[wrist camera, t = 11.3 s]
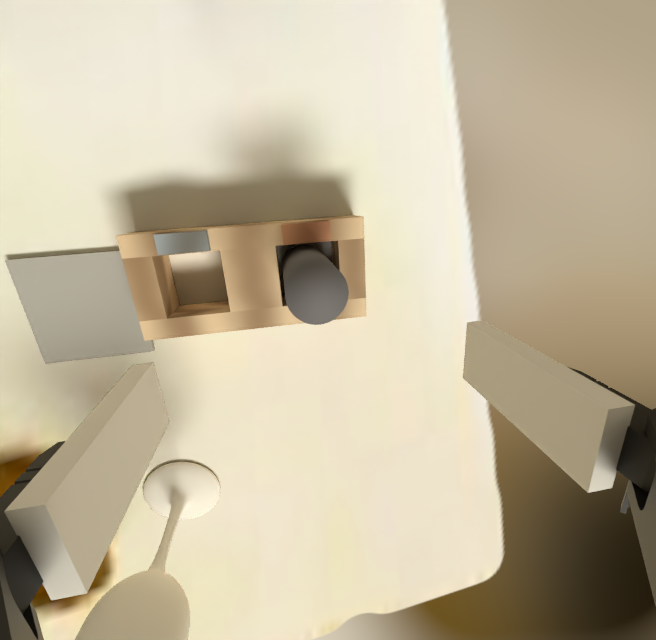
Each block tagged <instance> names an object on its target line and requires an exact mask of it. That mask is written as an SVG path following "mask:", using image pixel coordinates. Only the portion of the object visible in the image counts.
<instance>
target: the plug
mask: <svg viewBox="0 0 656 640" xmlns="http://www.w3.org/2000/svg"><path fill="white" fill-rule="evenodd" d="M282 269H283V279H284V289H285V299H286V303H287V306H288V308H289V310H290V311H291V313H292V314H293V315H294V316H295V317H296V318H297V319H299V320H300V321H302V322H305V323H308V324H314V325H318V324H324V323H328V322H330V321H332V320H334V319H335V318H336V317H338V316H339V315H340V314H341V312H342V311H343V310H344V308H345V306H346V304H347V301H348V296H349V290H348V285H347V282H346V279H345V278H344V276H343V275H342V273H341V272H340V271H339V270H338V269H337V268H336V267H335V266H334V265H333V264H332V262H331V261H330V260H329V259H328V258H327V257H326V256H325V255H324V254H323V253H322V252H321V251H320V250H319V249H318V248H317V247H315V246H313V245H310V244H299V245H296V246H294V247H292V248H291V249H290V250H289V251H288V252H287V253H286V255H285V256H284V259H283V264H282Z"/></svg>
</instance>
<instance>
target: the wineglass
mask: <svg viewBox="0 0 656 640" xmlns="http://www.w3.org/2000/svg"><path fill="white" fill-rule="evenodd" d="M143 495H144V499H145V501H146V503H147V504H148V506H149V507H150V508H151V509H152V510H153V511H155V512H156V513H158V514H159V515H161V516H164V517H167V518H168V522H167V525H166V528H165V532H164V535H163V538H162V541H161V544H160V546H159V549H158V552H157V554H156V556H155V559H154V561H153V563H152V565H151V566H150V568H149V569H148V571H143V572H140V573H137V574H134V575H132V576H130V577H128V578H126V579H124V580H123V581H121V582H119V583H118V584H117V585H115V586H114V587H113V588H111V589H110V590H109V591H108V592H107V593H106V594H105V595H104V596H103V597H102V598H101V599H100V600H99V601H98V602H97V604H96V605H95V606H94V608H93V609H92V610H91V612H90V613H89V615H88V617H87V618H86V620H85V622H84V623H83V625H82V627H81V629H80V631H79V633H78V635H77V637H76V639H75V640H188V635H189V627H190V610H189V604H188V600H187V597H186V595H185V592H184V590H183V589H182V587H181V585H180V584H179V583H178V582H177V581H176V579H174V578H173V577H172V576H170V575H169V574H167V573H165V564H166V559H167V555H168V551H169V547H170V544H171V541H172V537H173V534H174V531H175V529H176V526H177V523H178V521H179V520H185V519H192V518H196V517H199V516H201V515H203V514H205V513H207V512H208V511H209V510H211V509H212V508H213V507H214V506H215V504H216V503H217V501H218V499H219V497H220V484H219V481H218V479H217V478H216V476H215V475H214V474H213V473H212V472H211V471H210V470H208V469H207V468H205V467H203V466H201V465H199V464H195V463H191V462H174V463H169V464H166V465H164V466H161V467H159V468H158V469H156V470H155V471H153V472H152V473H151V474H150V475H149V476H148V478H147V479H146V481H145V483H144V487H143Z"/></svg>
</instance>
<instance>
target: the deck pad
mask: <svg viewBox="0 0 656 640" xmlns="http://www.w3.org/2000/svg"><path fill="white" fill-rule="evenodd" d="M5 262H6V264H7V267H8V270H9V272H10V275H11V277H12V280H13V282H14V285H15V287H16V290H17V292H18V295H19V298H20V300H21V303H22V305H23V308H24V310H25V313H26V315H27V318H28V320H29V323H30V326H31V328H32V331H33V333H34V336H35V338H36V341H37V343H38V346H39V348H40V351H41V354H42V356H43V359H44V361H45V364H46V363H54V362H63V361H72V360H80V359H89V358H98V357H106V356H115V355H124V354H132V353H141V352H150V351H154V350H155V348H154V344H153V340H147V341H144V337H143V334H142V330H141V326H140V323H139V319H138V315H137V312H136V308H135V305H134V301H133V297H132V294H131V290H130V286H129V283H128V279H127V275H126V272H125V268H124V264H123V261H122V257H121V253H120V250H118V251H106V252H94V253H82V254H70V255H57V256H45V257H33V258H21V259H8V260H5Z"/></svg>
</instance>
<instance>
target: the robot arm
mask: <svg viewBox="0 0 656 640" xmlns="http://www.w3.org/2000/svg"><path fill="white" fill-rule="evenodd" d="M463 378H464V379H465V380H466V381H467V382H468V383H469V384H470V385H471V386H472V387H473V388H474V389H476V390H477V391H478V392H479V393H480V394H481V395H482V396H483V397H484V398H485V399H486V400H488V401H489V402H490V403H491V404H492V405H493V406H494V407H495V408H496V409H497V410H498V411H500V412H501V413H502V414H503V415H504V416H505V417H506V418H507V419H508V420H509V421H510V422H512V423H513V424H514V425H515V426H516V427H517V428H518V429H519V430H520V431H521V432H523V434H525V435H526V436H527V437H528V438H529V439H530V440H531V441H532V442H533V443H534V444H536V445H537V446H538V447H539V448H540V449H541V450H542V451H543V452H544V453H545V454H546V455H547V456H549V457H550V458H551V459H552V460H553V461H554V462H555V463H556V464H557V465H558V466H559V467H560V468H562V469H563V470H564V471H565V472H566V473H567V474H568V475H569V476H570V477H571V478H572V479H574V480H575V481H576V482H577V483H578V484H579V485H580V486H581V487H582V488H583V489H584V490H586V491H587V492H588V493H589V492H594V491H599V490H604V489H609V488H612V486H613V483H614V479H615V475H616V472H617V470H618V471H619V472H620V473H622V474H623V475H624V476H626V477H627V478H628V479H629V482H628V485H627V489H626V492H625V495H624V499H623V502H622V505H621V511H620V512H622V513H626V511H627V508H628V507H631V511H632V514H633V518H634V522H635V526H636V530H637V534H638V538H639V542H640V546H641V550H642V554H643V558H644V562H645V566H646V570H647V574H648V578H649V582H650V586H651V590H652V594H653V598H654V602H655V606H656V409H653V410H651V409H649V408H647V407H645V406H644V405H642V404H640V403H638V402H636V401H634V400H633V399H631V398H629V397H627V396H625V395H623V394H622V393H620V392H618V391H616V390H614V389H612V388H608V386H607V385H605V384H603V383H601V382H600V381H598V382H597V381H596V379H594V378H592V377H590V376H588V375H587V374H585V373H583V372H581V371H578V370H575V369H572V368H569V367H566V366H564V365H562V364H561V363H559V362H557V361H555V360H553V359H552V358H550V357H548V356H546V355H544V354H542V353H541V352H539V351H537V350H535V349H534V348H532V347H530V346H528V345H526V344H525V343H523V342H521V341H519V340H517V339H516V338H513V337H512V336H510V335H508V334H507V333H505V332H503V331H501V330H499V329H497V328H496V327H494V326H492V325H490V324H489V323H487V322H485V321H476V322H468V323H467V331H466V345H465V358H464V372H463ZM168 423H169V418H168V414H167V411H166V407H165V403H164V400H163V396H162V393H161V389H160V385H159V382H158V378H157V374H156V371H155V367H154V364H153V362H152V363H144V364H136V365H132V366H131V367H130V368H129V370H128V371H127V372H126V373H125V374H124V375H123V376H122V378H121V379H120V380H119V381H118V382H117V383H116V384H115V386H114V387H113V388H112V389H111V390H110V391H109V392H108V394H107V395H106V396H105V397H104V398H103V399H102V400H101V402H100V403H99V404H98V405H97V406H96V407H95V408H94V409H93V411H92V412H91V413H90V414H89V415H88V416H87V417H86V419H85V420H84V421H83V422H82V423H81V424H80V425H79V427H78V428H77V429H76V430H75V431H74V432H73V433H72V435H71V436H70V437H69V438H68V439H67V440H66V441H63V442H58V443H56V444H55V445H54V446H52V447H51V448H49V449H48V450H46V451H45V452H44V453H42V454H41V455H39V456H38V457H37V459H36V460H35V461H34V462H33V463H32V464H31V465H30V466H29V467H28V468H27V469H26V472H25V473H23V474H22V475H21V476H20V477H19V478H18V479H17V480H16V481H15V484H14V485H11V486H10V487H9V489H8V490H7V491H6V492H5V493H4V494H3V495H2V496H1V497H0V640H44V639H43V635H42V632H41V628H40V624H39V621H38V617H37V613H36V611H35V609H34V607H33V605H32V604H31V601H32V599H33V598H34V596H35V594H36V593H37V591H38V590H39V588H40V586H41V585H42V583H43V585H44V587H45V589H46V591H47V593H48V595H49V597H50V599H51V600H56V599H61V598H66V597H71V596H76V595H81V594H86V593H87V592H88V590H89V588H90V586H91V584H92V582H93V580H94V578H95V575H96V573H97V571H98V569H99V567H100V565H101V563H102V561H103V559H104V557H105V555H106V553H107V550H108V548H109V546H110V544H111V542H112V540H113V538H114V536H115V534H116V532H117V530H118V528H119V525H120V523H121V521H122V519H123V517H124V515H125V513H126V511H127V509H128V507H129V505H130V502H131V500H132V498H133V496H134V494H135V492H136V490H137V488H138V486H139V484H140V482H141V480H142V477H143V475H144V473H145V471H146V469H147V467H148V465H149V463H150V461H151V459H152V457H153V455H154V452H155V450H156V448H157V446H158V444H159V442H160V440H161V438H162V436H163V434H164V432H165V430H166V427H167V425H168Z"/></svg>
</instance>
